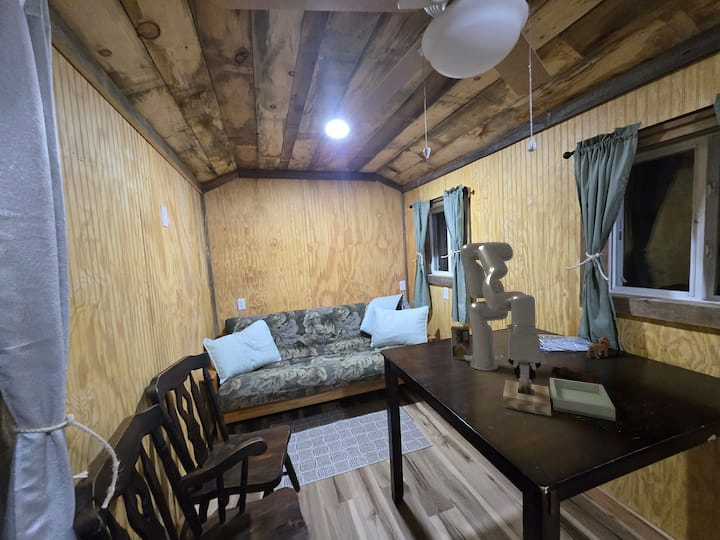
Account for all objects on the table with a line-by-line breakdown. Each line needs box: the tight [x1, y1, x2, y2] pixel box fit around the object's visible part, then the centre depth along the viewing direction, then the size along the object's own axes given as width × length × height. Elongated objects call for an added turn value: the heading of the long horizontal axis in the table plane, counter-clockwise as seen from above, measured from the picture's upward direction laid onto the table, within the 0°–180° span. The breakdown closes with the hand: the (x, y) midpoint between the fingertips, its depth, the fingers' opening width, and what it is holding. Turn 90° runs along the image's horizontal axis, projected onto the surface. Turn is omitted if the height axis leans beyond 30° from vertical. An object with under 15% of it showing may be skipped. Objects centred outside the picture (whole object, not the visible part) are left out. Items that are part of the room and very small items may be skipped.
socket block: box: [502, 379, 552, 417], centre depth 102 cm, size 14×14×4 cm
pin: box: [517, 360, 532, 395], centre depth 102 cm, size 6×6×13 cm
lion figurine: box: [586, 336, 611, 359], centre depth 139 cm, size 15×5×9 cm, turn 113°
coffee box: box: [450, 325, 472, 360], centre depth 148 cm, size 9×6×16 cm
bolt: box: [551, 366, 598, 384], centre depth 116 cm, size 6×5×15 cm
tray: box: [549, 377, 616, 422], centre depth 99 cm, size 16×18×4 cm
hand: (524, 377), depth 102 cm, fingers closed on pin, 4 cm apart
